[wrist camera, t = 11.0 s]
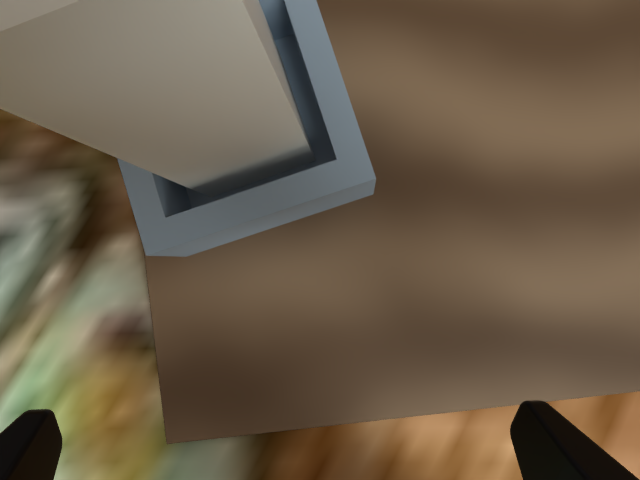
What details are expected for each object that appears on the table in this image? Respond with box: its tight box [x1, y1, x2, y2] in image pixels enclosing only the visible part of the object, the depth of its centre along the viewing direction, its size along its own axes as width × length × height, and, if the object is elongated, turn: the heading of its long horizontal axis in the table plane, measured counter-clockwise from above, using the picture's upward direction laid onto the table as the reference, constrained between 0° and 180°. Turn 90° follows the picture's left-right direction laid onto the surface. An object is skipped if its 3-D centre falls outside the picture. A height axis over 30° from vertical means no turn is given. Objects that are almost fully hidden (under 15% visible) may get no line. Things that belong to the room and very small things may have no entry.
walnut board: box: [143, 0, 640, 444], centre depth 19 cm, size 17×22×1 cm
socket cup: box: [117, 0, 376, 257], centre depth 17 cm, size 8×8×4 cm
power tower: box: [0, 0, 316, 197], centre depth 12 cm, size 5×4×12 cm
